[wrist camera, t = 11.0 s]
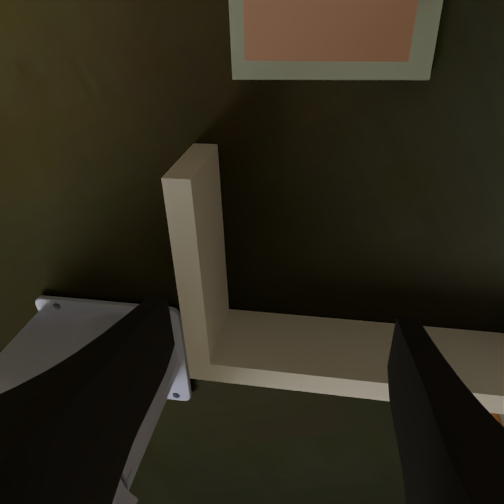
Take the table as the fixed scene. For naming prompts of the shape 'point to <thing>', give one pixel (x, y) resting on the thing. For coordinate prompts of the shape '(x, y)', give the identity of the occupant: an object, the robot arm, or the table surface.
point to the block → (328, 30)
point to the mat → (341, 70)
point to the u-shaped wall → (288, 315)
